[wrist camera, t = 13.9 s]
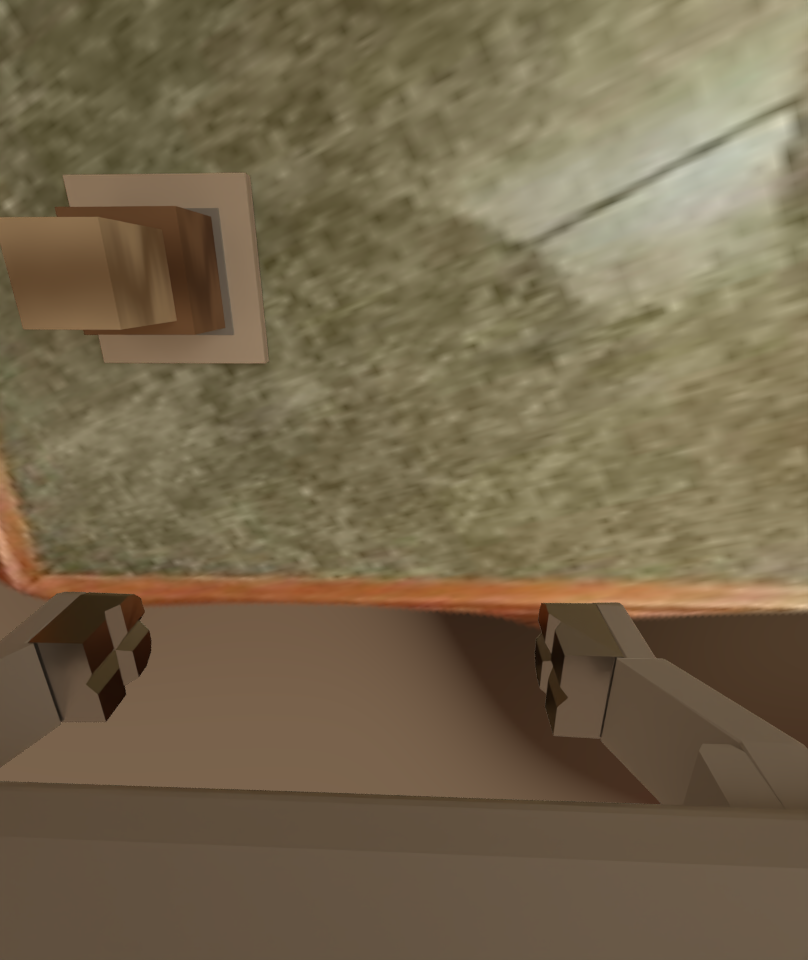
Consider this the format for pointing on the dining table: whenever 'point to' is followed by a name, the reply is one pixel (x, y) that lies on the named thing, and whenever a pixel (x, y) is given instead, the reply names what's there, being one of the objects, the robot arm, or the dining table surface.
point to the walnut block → (174, 265)
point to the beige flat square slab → (234, 252)
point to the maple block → (86, 273)
